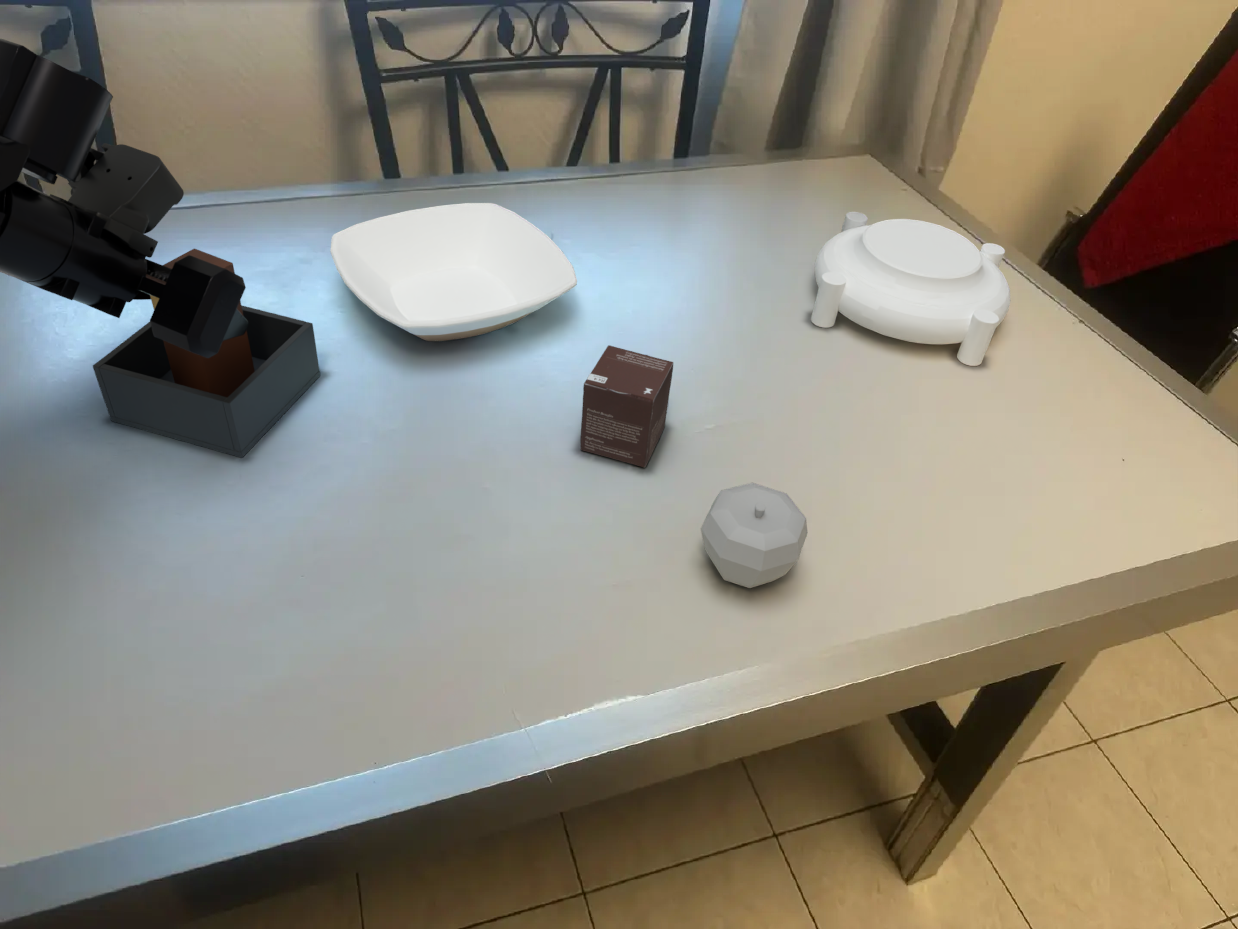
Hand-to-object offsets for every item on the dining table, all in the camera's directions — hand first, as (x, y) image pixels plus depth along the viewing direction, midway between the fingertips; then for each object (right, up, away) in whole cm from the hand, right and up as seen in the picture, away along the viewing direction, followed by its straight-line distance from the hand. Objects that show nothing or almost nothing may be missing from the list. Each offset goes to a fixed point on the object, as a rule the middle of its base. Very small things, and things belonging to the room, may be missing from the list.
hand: (200, 310), depth 77 cm
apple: (+43, -20, -4) cm, 48 cm away
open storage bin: (-1, -7, +6) cm, 9 cm away
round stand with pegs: (+65, +5, +28) cm, 71 cm away
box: (+34, -10, +6) cm, 36 cm away
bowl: (+17, +4, +20) cm, 27 cm away
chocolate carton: (-1, -6, +5) cm, 8 cm away
